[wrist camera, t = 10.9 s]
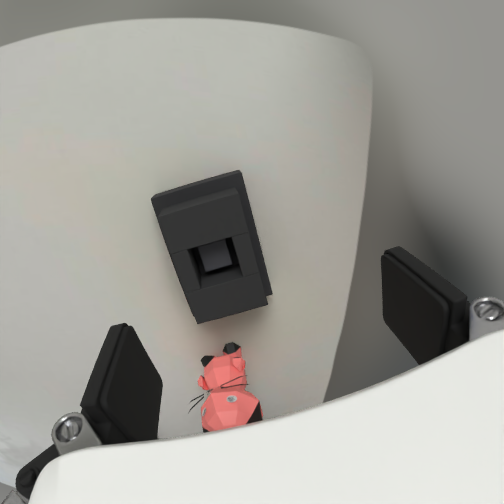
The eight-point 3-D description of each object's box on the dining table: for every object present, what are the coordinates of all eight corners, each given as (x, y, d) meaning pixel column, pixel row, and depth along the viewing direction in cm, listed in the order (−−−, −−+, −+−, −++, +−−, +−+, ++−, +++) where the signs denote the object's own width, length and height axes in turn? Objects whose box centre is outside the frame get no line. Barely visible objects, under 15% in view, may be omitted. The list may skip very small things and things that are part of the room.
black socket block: (162, 208, 26) (157, 216, 23) (235, 187, 26) (238, 192, 23) (198, 307, 29) (197, 324, 27) (262, 289, 30) (268, 304, 27)
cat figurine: (234, 326, 33) (248, 409, 22) (266, 363, 35) (288, 443, 24) (182, 355, 34) (178, 439, 22) (217, 389, 36) (225, 469, 25)
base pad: (154, 194, 27) (147, 202, 24) (239, 169, 27) (243, 173, 24) (193, 306, 32) (192, 325, 28) (269, 285, 32) (275, 302, 29)
